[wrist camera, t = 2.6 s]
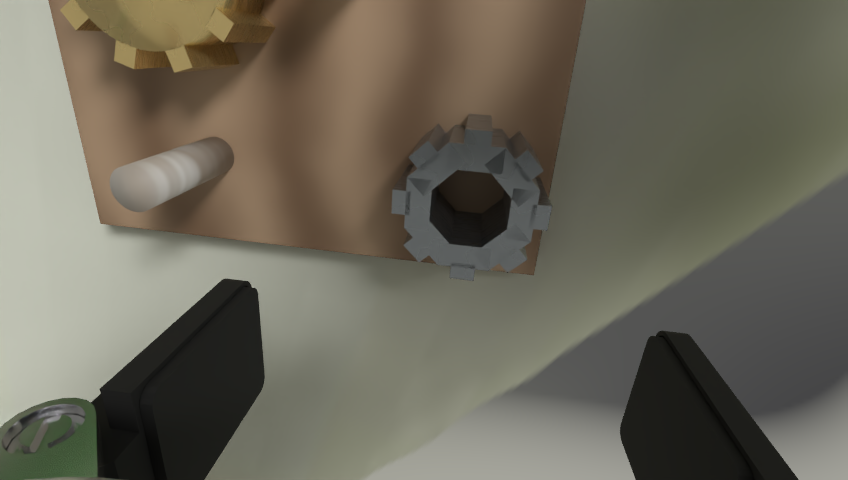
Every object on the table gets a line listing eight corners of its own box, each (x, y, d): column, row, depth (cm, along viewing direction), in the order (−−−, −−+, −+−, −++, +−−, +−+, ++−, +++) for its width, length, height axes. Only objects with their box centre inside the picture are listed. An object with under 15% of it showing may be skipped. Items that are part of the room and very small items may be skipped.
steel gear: (550, 120, 22) (565, 138, 18) (527, 248, 25) (535, 288, 21) (411, 108, 23) (395, 122, 18) (404, 233, 25) (388, 270, 21)
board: (608, -167, 19) (693, -311, 11) (530, 259, 27) (548, 345, 19) (41, -188, 21) (-214, -321, 14) (124, 212, 29) (-6, 272, 22)
